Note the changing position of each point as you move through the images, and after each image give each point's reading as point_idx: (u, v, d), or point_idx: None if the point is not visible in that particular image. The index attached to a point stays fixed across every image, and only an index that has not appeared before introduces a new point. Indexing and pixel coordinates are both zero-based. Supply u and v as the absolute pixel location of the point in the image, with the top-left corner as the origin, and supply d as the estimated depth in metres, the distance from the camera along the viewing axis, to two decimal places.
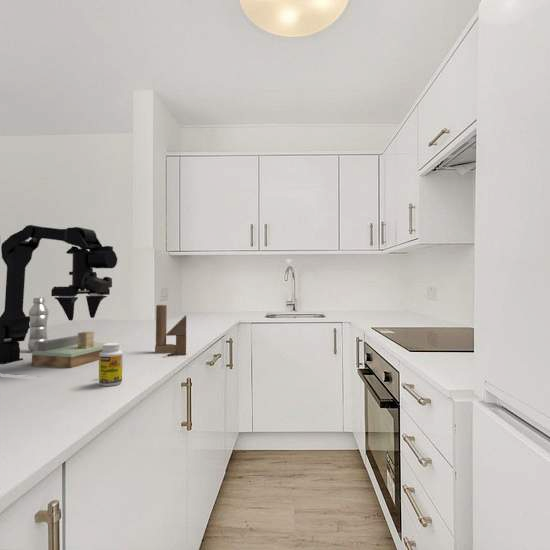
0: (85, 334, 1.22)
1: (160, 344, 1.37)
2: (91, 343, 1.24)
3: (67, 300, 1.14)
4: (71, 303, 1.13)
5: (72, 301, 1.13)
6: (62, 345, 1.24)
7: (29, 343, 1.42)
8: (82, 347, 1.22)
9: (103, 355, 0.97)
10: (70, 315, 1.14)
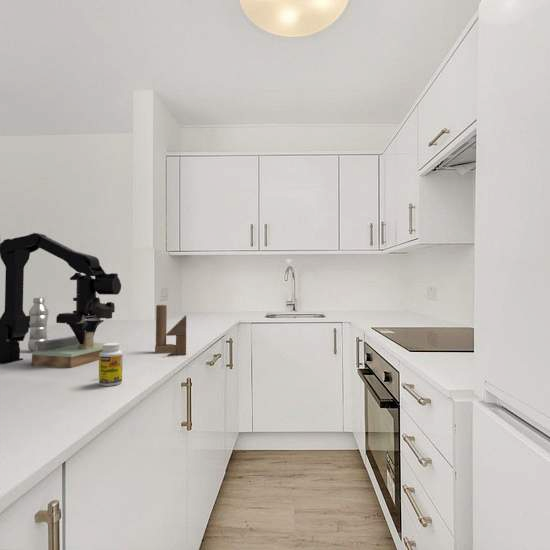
0: (85, 334, 1.22)
1: (160, 344, 1.37)
2: (91, 343, 1.24)
3: (78, 325, 1.21)
4: (82, 328, 1.20)
5: (83, 326, 1.20)
6: (62, 345, 1.24)
7: (29, 343, 1.42)
8: (82, 347, 1.22)
9: (103, 355, 0.97)
10: (81, 339, 1.21)
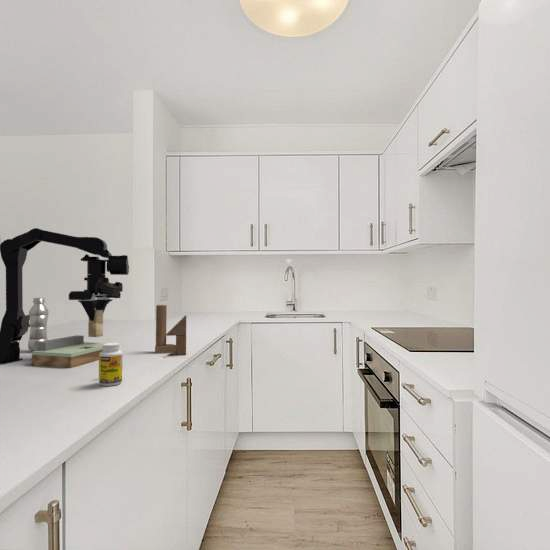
0: (95, 311, 1.30)
1: (160, 344, 1.37)
2: (101, 320, 1.32)
3: (89, 303, 1.29)
4: (92, 305, 1.28)
5: (93, 304, 1.28)
6: (62, 345, 1.24)
7: (29, 343, 1.42)
8: (92, 323, 1.30)
9: (103, 355, 0.97)
10: (91, 316, 1.29)
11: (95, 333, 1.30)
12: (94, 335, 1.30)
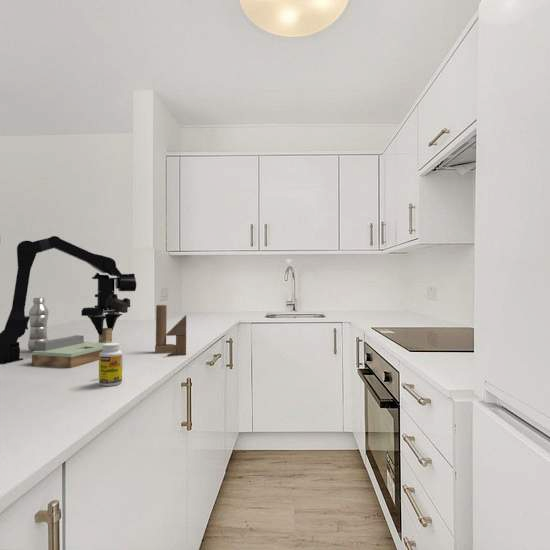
0: (105, 330, 1.40)
1: (160, 344, 1.37)
2: (110, 338, 1.43)
3: (97, 318, 1.39)
4: (101, 321, 1.38)
5: (102, 319, 1.38)
6: (62, 345, 1.24)
7: (29, 343, 1.42)
8: (102, 341, 1.41)
9: (103, 355, 0.97)
10: (100, 330, 1.39)
11: None
12: None
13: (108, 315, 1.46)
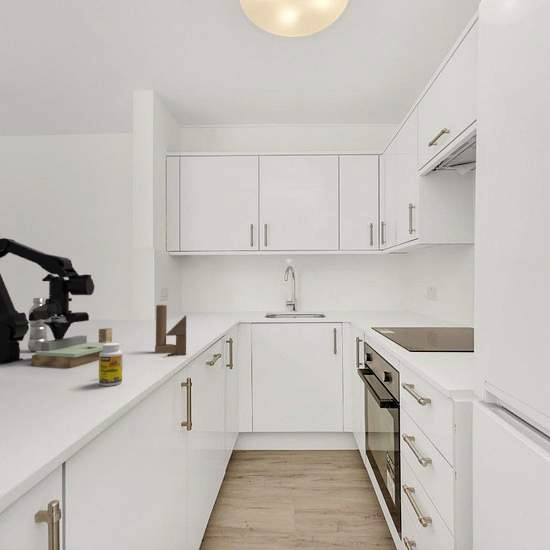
0: (105, 330, 1.40)
1: (160, 344, 1.37)
2: (110, 338, 1.43)
3: None
4: (50, 327, 1.25)
5: (49, 326, 1.24)
6: (65, 345, 1.23)
7: (29, 343, 1.42)
8: (102, 341, 1.41)
9: (103, 355, 0.97)
10: None
11: None
12: None
13: None
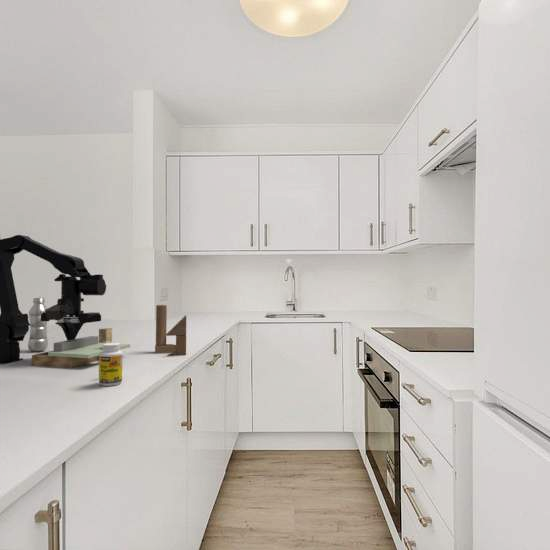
0: (105, 330, 1.40)
1: (160, 344, 1.37)
2: (110, 338, 1.43)
3: None
4: (62, 328, 1.24)
5: (61, 326, 1.23)
6: (77, 346, 1.22)
7: (29, 343, 1.42)
8: (102, 341, 1.41)
9: (103, 355, 0.97)
10: None
11: None
12: None
13: None
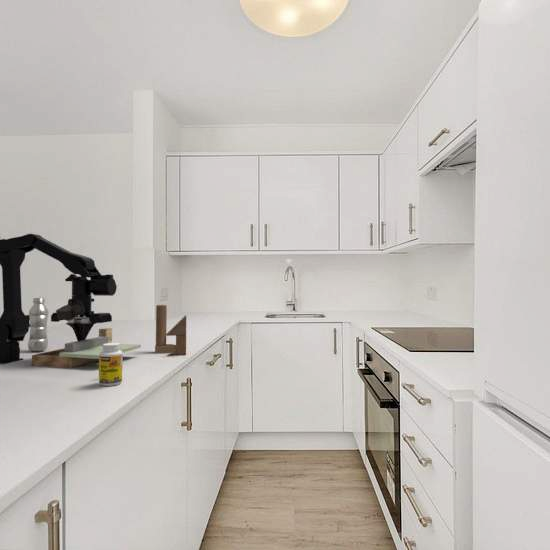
0: (105, 330, 1.40)
1: (160, 344, 1.37)
2: (110, 338, 1.43)
3: None
4: (73, 328, 1.23)
5: (71, 326, 1.22)
6: (88, 346, 1.21)
7: (29, 343, 1.42)
8: None
9: (103, 355, 0.97)
10: None
11: None
12: None
13: None
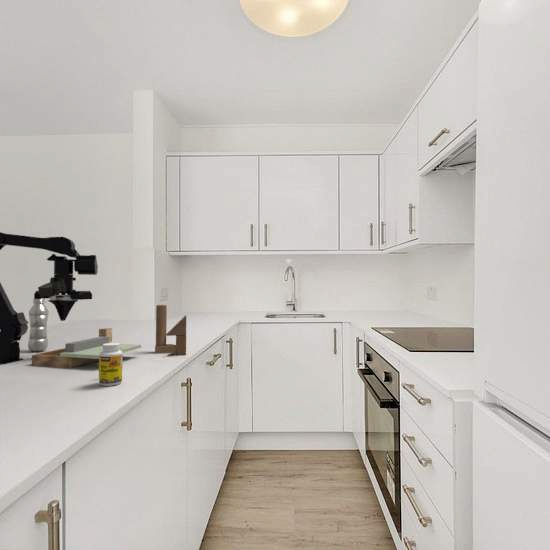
0: (105, 330, 1.40)
1: (160, 344, 1.37)
2: (110, 338, 1.43)
3: None
4: (55, 305, 1.29)
5: (54, 303, 1.29)
6: (89, 346, 1.21)
7: (29, 343, 1.42)
8: None
9: (103, 355, 0.97)
10: None
11: None
12: None
13: None
